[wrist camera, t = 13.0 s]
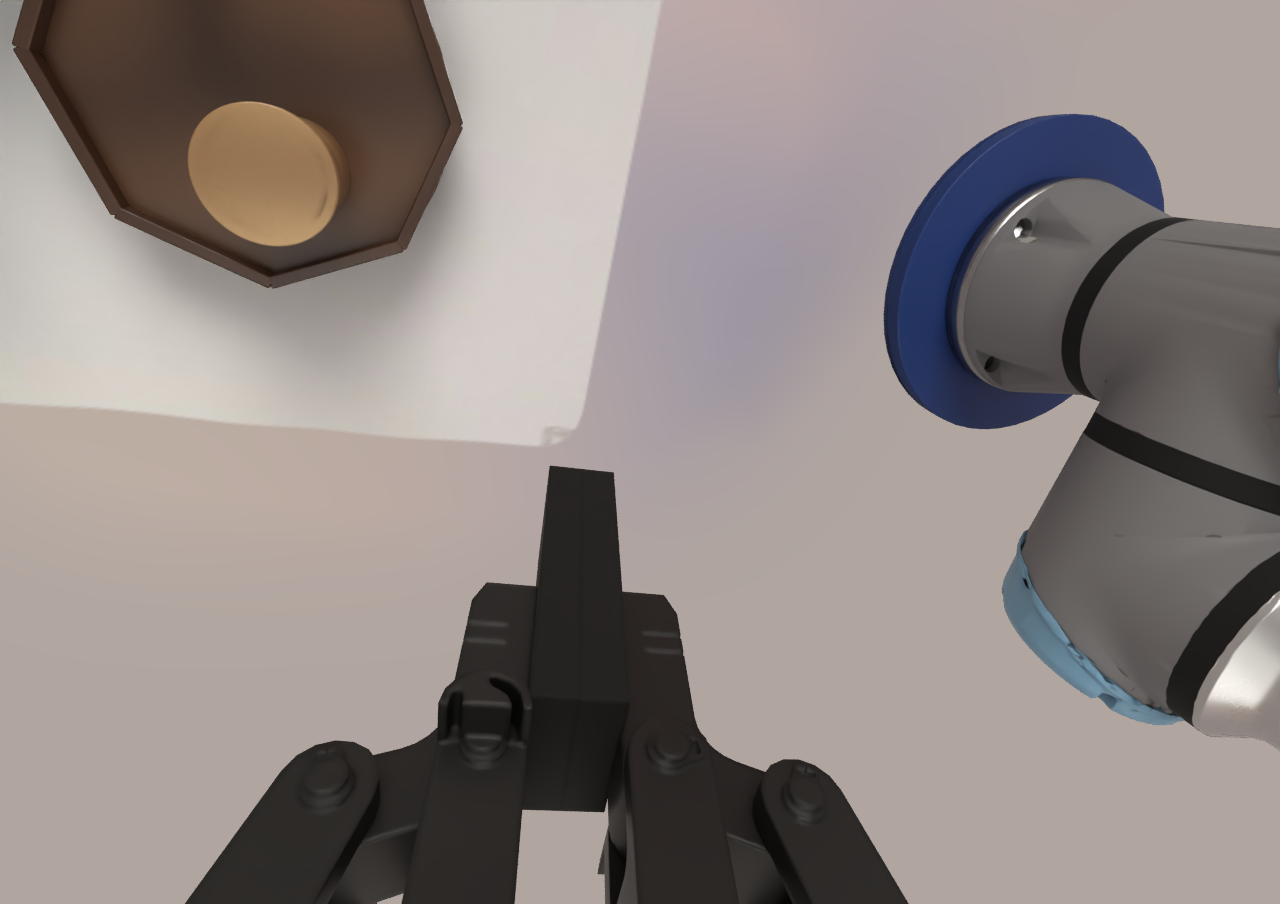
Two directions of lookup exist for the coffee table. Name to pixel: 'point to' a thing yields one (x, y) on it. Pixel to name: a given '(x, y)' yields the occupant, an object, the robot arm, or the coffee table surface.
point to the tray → (247, 60)
